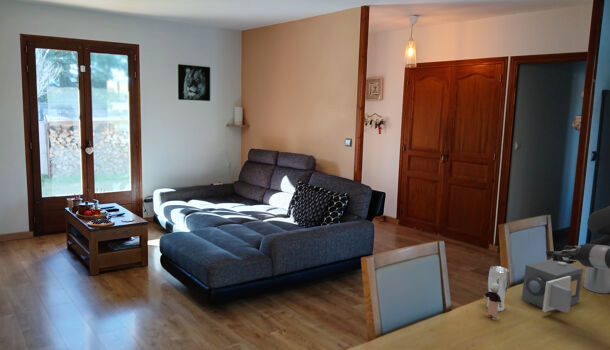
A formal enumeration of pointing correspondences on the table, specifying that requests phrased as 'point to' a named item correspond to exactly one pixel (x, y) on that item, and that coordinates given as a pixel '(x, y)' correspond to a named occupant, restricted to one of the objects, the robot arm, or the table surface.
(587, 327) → the table surface
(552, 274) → the box
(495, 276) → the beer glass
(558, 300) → the side door
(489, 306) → the grandmother figurine
